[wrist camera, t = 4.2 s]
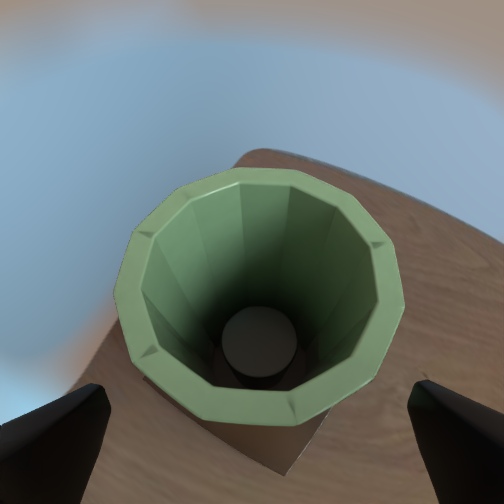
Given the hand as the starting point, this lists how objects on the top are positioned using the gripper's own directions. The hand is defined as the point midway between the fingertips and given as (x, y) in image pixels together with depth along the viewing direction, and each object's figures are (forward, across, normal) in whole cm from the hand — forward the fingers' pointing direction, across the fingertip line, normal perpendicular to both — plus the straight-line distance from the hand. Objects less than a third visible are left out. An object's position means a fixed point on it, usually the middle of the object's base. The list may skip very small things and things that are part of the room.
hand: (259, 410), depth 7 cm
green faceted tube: (+8, 0, +4) cm, 9 cm away
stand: (+9, 0, +5) cm, 10 cm away
